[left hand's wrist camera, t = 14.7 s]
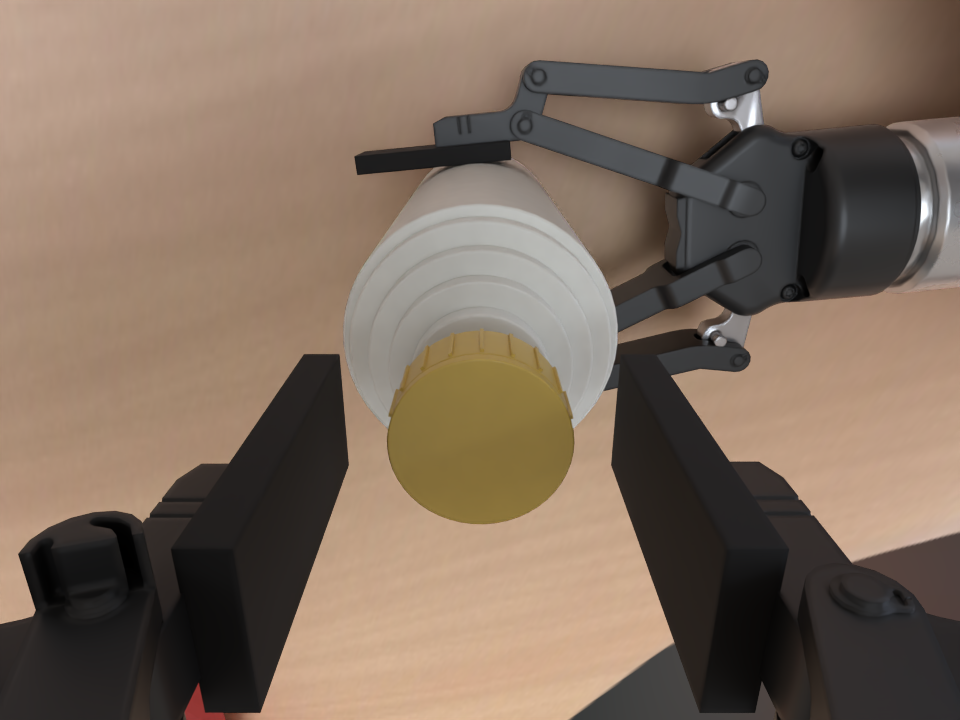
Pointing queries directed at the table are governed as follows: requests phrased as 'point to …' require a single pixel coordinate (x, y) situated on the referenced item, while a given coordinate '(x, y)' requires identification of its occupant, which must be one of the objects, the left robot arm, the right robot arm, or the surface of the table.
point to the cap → (480, 428)
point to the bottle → (480, 284)
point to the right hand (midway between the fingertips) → (376, 257)
